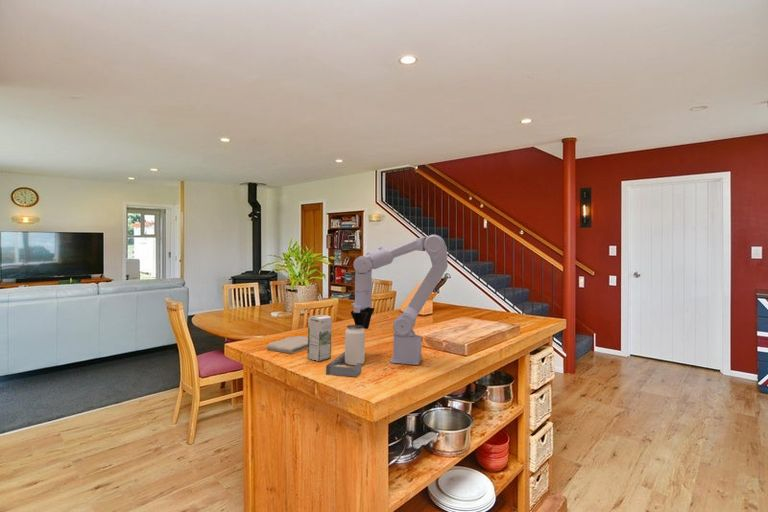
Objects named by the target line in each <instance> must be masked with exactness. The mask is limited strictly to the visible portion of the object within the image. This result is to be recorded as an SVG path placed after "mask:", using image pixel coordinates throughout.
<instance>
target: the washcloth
mask: <svg viewBox="0 0 768 512" xmlns="http://www.w3.org/2000/svg"><path fill="white" fill-rule="evenodd" d="M307 348H308V336H301V335H296V336H287V337H286V338H283V339H279V340H276V341H273V342H270V343H268V344H267V346H266V349H267V350H269V351H274V352H278V353H285V354H288V353H289V354H288V355H293V354H296V353H298V351H299V352H302V351H305V350H308V349H307ZM304 349H305V350H304ZM301 350H302V351H301ZM295 352H296V353H295Z"/></svg>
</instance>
